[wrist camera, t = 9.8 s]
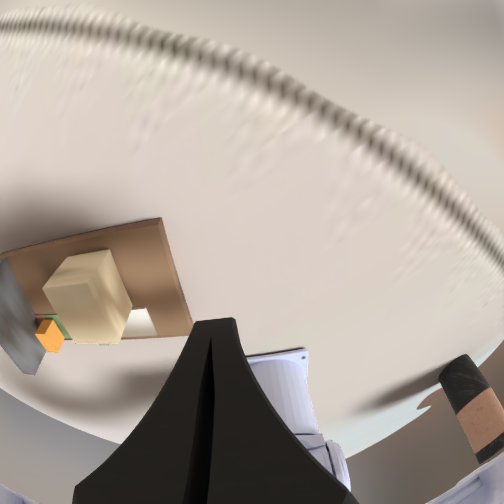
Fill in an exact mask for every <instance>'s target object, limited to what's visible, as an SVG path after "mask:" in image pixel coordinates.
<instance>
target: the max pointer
mask: <svg viewBox="0 0 504 504" xmlns="http://www.w3.org/2000/svg"><path fill="white" fill-rule="evenodd" d="M35 335H36V337H37V338H38V339H39V341H40V342H41V344H42V345H43V346H44V348H45V349H46V350H47V352H55V353H58V351H59V349H60V347H61V345H62V343H63V341H64V339H65V337H64V336H63V334H62V333H61V331H60V330H59V328H58V326H57V325H56V323H55V322H54V320H53V319H52V320H43V321H42V322H41V324H40V326H39V327H38V329H37V331H36V333H35Z"/></svg>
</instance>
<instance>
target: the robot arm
mask: <svg viewBox="0 0 504 504" xmlns="http://www.w3.org/2000/svg"><path fill="white" fill-rule="evenodd" d="M308 355H309V353H308V350H307V349H300V350H294V351H288V352H282V353H276V354H270V355H263V356H256V357H248V358H246V356H245V354H244V352H243V349H242V346H241V343H240V339H239V334H238V329H237V325H236V320H235V319H234V318H232V317H229V318H221V319H212V320H203V321H196V322H195V323H194V325H193V328H192V330H191V332H190V335H189V337H188V339H187V342H186V344H185V346H184V348H183V350H182V352H181V354H180V356H179V358H178V360H177V362H176V364H175V366H174V368H173V370H172V372H171V374H170V376H169V377H168V379H167V381H166V383H165V384H164V386H163V388H162V389H161V391H160V393H159V395H158V396H157V398H156V399H155V401H154V402H153V404H152V405H151V407H150V408H149V410H148V411H147V413H146V414H145V416H144V417H143V418H142V420H141V421H140V422H139V424H138V425H137V426H136V427H135V429H134V430H133V431H132V432H131V434H130V435H129V436H128V437H127V438H126V440H125V441H124V442H123V443H122V444H121V445H120V446H119V447H118V448H117V449H116V450H115V451H114V453H113V454H112V455H111V456H110V457H109V458H108V459H107V460H106V461H105V462H104V463H103V464H102V465H100V466H99V467H98V468H97V469H96V470H95V471H93V472H92V473H91V474H90V475H89V476H87V477H86V478H85V479H84V480H82V481H81V482H80V483H79V484H78V485H76V486H75V489H74V494H73V501H72V504H359V503H358V502H357V500H356V499H355V497H354V496H353V495H352V494H351V493H350V491H351V488H350V487H351V486H350V478H349V473H348V469H347V465H346V461H345V458H344V455H343V452H342V450H341V447H340V445H339V444H337V443H335V442H333V441H332V440H329V441H325V442H324V438H323V434H322V433H320V432H319V428H318V424H317V420H316V417H315V413H314V409H313V405H312V401H311V397H310V394H309V390H308V386H307V370H308ZM0 504H39V503H37V502H35V501H34V500H32V499H30V498H28V497H26V496H23V495H21V494H19V493H17V492H15V491H13V490H11V489H9V488H7V487H6V486H4V485H3V484H1V483H0ZM426 504H504V452H502V453H501V454H500V455H499V456H497V457H496V458H494V459H493V460H491V461H490V462H488V463H486V464H484V465H483V466H481V467H479V468H478V469H476V470H475V471H473V472H472V473H471V474H470V475H468V476H466V477H465V478H463V479H462V480H461V481H459V482H458V483H457V485H456V486H455V487H453V488H452V489H450V490H448V491H447V492H445V493H443V494H442V495H440V496H438V497H437V498H435V499H433V500H431V501H429V502H428V503H426Z"/></svg>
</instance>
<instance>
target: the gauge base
mask: <svg viewBox="0 0 504 504" xmlns="http://www.w3.org/2000/svg"><path fill="white" fill-rule="evenodd" d="M108 249H110V251H111V254H112V257H113V259H114V262H115V265H116V267H117V270H118V272H119V275H120V277H121V280H122V282H123V284H124V287H125V289H126V291H127V294H128V296H129V298H130V301H131V303H132V305H133V306H132V309H131V312H130V314H129V317H128V320H127V323H126V325H125V328H124V331H123V334H122V337H121V340H123V339H146V338H162V337H176V336H188V335H190V332H191V330H192V328H193V325H194V324H193V321H192V318H191V315H190V312H189V309H188V306H187V303H186V300H185V297H184V294H183V291H182V288H181V285H180V281H179V278H178V275H177V272H176V268H175V265H174V261H173V258H172V254H171V251H170V247H169V244H168V240H167V236H166V233H165V229H164V225H163V221H162V218H157V219H151V220H146V221H141V222H135V223H130V224H125V225H120V226H115V227H110V228H105V229H101V230H96V231H91V232H87V233H82V234H78V235H73V236H69V237H65V238H61V239H56V240H52V241H48V242H44V243H40V244H36V245H32V246H29V247H25V248H21V249H17V250H14V251H10V252H6V253H3V254H1V255H0V345H1V346H2V347H3V349H4V350H5V351H6V353H7V354H8V355H9V357H10V358H11V359H12V360H13V362H14V363H15V364H16V365H17V366H18V368H19V369H20V370H21V371H22V372H23V373H25V374H30V375H35V374H36V371H37V369H38V367H39V365H40V363H41V361H42V359H43V357H44V355H45V353H46V351H47V350H46V349H45V348H44V346H43V345H42V344H41V342H40V341H39V339H38V338H37V337H36V335H35V333H36V331H37V329H38V327H39V326H40V324H41V322H42V321H43V320H52V319H53V320H54V322H55V323H56V325H57V326H58V328H59V330H60V331H61V333H62V334H63V336H64V337H65V339H64V340H72V338H71V336H70V335H69V333H68V332H67V330H66V329H65V327H64V326H63V324H62V322H61V321H60V319H59V317H58V316H57V314H56V312H55V311H54V309H53V307H52V305H51V304H50V302H49V300H48V298H47V296H46V295H45V293H44V291H43V289H42V288H43V287H44V285H45V284H46V283H47V281H48V280H49V279H50V278H51V276H52V275H53V274H54V272H55V271H56V270H57V269H58V268H59V266H60V265H61V264H62V263H63V261H64V260H65V259H66V258H67V257H69V256H75V255H80V254H85V253H91V252H97V251H102V250H108Z"/></svg>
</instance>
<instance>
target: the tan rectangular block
mask: <svg viewBox="0 0 504 504" xmlns="http://www.w3.org/2000/svg"><path fill="white" fill-rule="evenodd" d="M42 289H43V291H44V293H45V295H46V296H47V298H48V300H49V302H50V304H51V305H52V307H53V309H54V311H55V312H56V314H57V316H58V317H59V319H60V321H61V322H62V324H63V326H64V327H65V329H66V330H67V332H68V333H69V335H70V336H71V338H72V340H73V341H74V342H75V344H99V345H109V344H115V343H120V340H121V337H122V334H123V331H124V328H125V325H126V323H127V320H128V317H129V314H130V312H131V309H132V306H133V305H132V303H131V301H130V298H129V296H128V294H127V291H126V289H125V287H124V284H123V282H122V280H121V277H120V275H119V272H118V270H117V267H116V265H115V262H114V259H113V257H112V254H111V251H110V249H108V250H102V251H97V252H91V253H85V254H80V255H75V256H69V257H67V258H66V259H65V260H64V261H63V263H62V264H61V265H60V266H59V268H58V269H57V270H56V271H55V272H54V274H53V275H52V276H51V278H50V279H49V280H48V281H47V283H46V284H45V285H44V287H43V288H42Z"/></svg>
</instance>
